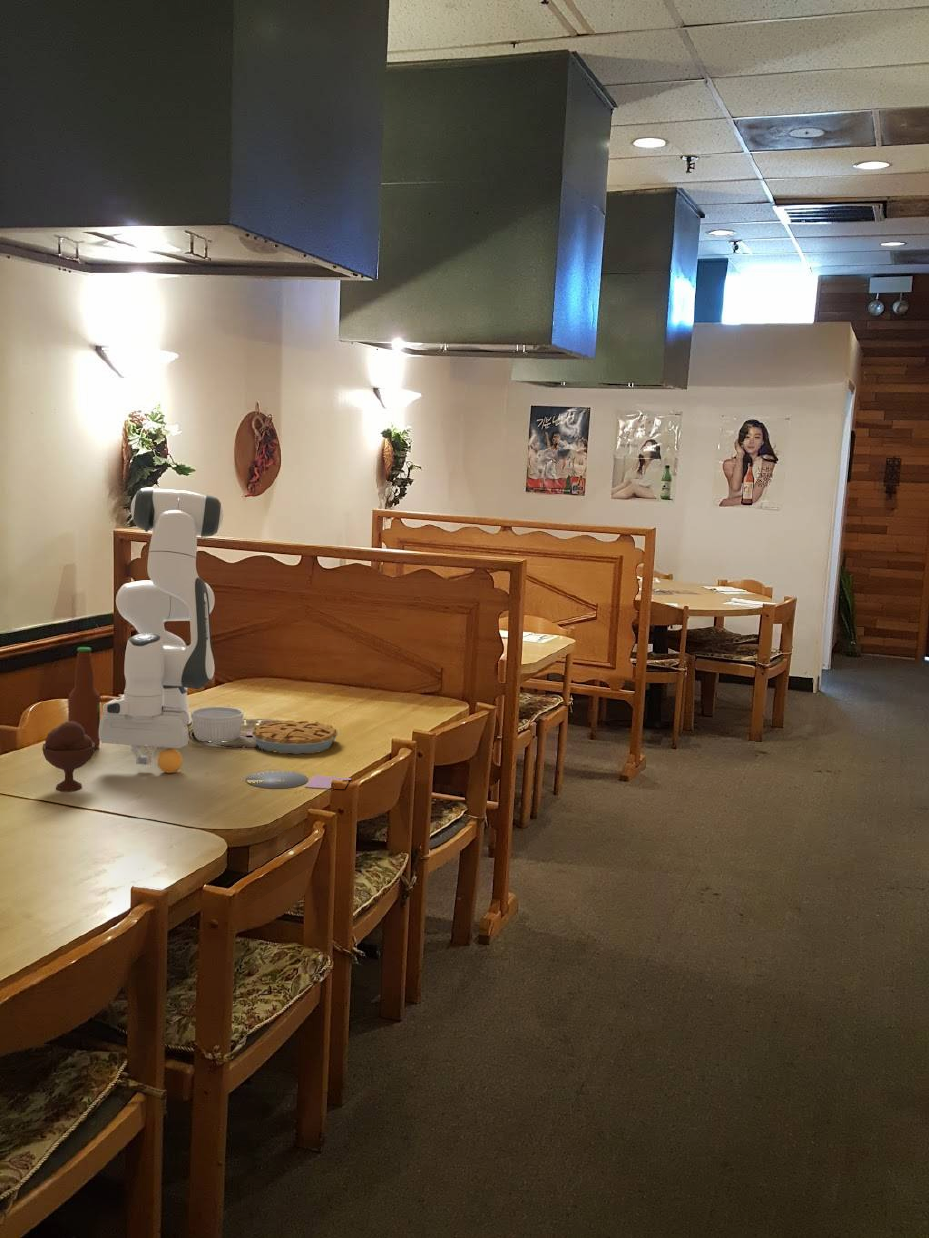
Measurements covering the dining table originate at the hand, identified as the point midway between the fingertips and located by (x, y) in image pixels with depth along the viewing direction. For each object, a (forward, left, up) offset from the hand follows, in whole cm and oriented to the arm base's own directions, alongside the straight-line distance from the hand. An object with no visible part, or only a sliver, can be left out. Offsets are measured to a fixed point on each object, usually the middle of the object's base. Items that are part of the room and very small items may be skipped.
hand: (143, 763), depth 255 cm
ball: (+6, 0, +1) cm, 6 cm away
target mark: (+31, 0, -2) cm, 31 cm away
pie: (+28, +32, -2) cm, 43 cm away
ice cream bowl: (-11, -16, -2) cm, 19 cm away
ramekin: (+7, +34, -2) cm, 35 cm away
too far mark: (+43, 0, -2) cm, 43 cm away
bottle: (-21, +16, -2) cm, 26 cm away
